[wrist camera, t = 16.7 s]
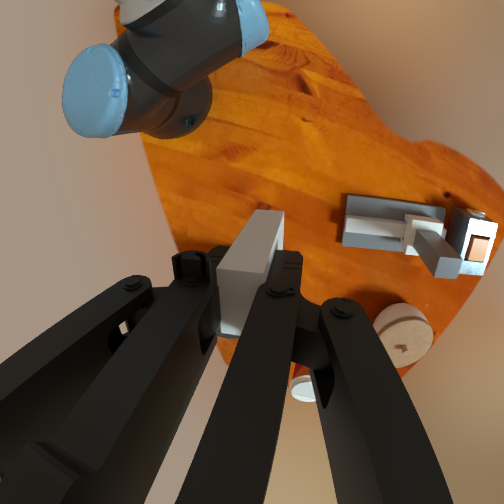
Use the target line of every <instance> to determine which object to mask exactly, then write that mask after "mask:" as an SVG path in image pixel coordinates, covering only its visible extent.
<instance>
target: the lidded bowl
mask: <svg viewBox="0 0 504 504" xmlns="http://www.w3.org/2000/svg"><path fill="white" fill-rule="evenodd" d="M373 327H374V329H375V331H376V332H377V334H378V336H379V338H380V340H381V342H382V343H383V345H384V347H385V349H386V351H387V353H388V355H389V357H390V358H391V360H392V362H393V364H394V366H395V368H398V367H404V366H407V365H409V364H412V363H414V362H415V361H417V360H418V359H420V358H421V357H422V356H423V355H424V354H425V353H426V352H427V351H428V349H429V348H430V346H431V344H432V341H433V331H432V328H431V326H430V324H429V323H428V321H427V319H426V318H425V316H424V315H423V313H422V312H421V311H420V310H419V309H418V308H416V307H415V306H413V305H411V304H407V303H396V304H392V305H390V306H388V307H386V308H385V309H384V310H383V311H381V312H380V313H379V315H378V316H377V317H376V319H375V321H374V323H373Z"/></svg>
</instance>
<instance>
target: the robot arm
mask: <svg viewBox="0 0 504 504" xmlns="http://www.w3.org/2000/svg"><path fill="white" fill-rule="evenodd" d="M115 1H116V2H117V3H118V4H119V5H120V20H119V22H120V23H121V24H122V25H123V26H124V27H126V28H127V30H126V31H125V32H124V33H123V34H121V35H120V36H119V37H118V38H117V39H116V40H115V41H114V42H113V43H112V44H110V45H107V44H99V45H96V46H90V47H88V48H86V49H85V50H83V51H82V52H81V53H80V54H79V55H78V56H77V57H76V58H75V59H74V61H73V62H72V64H71V65H70V67H69V69H68V71H67V74H66V76H65V80H64V84H63V93H62V107H63V112H64V115H65V118H66V120H67V122H68V124H69V126H70V127H71V129H72V130H73V131H74V132H76V133H77V134H78V135H80V136H83V137H87V138H108V137H111V136H114V135H121V134H128V133H137V132H145V133H146V134H148V135H150V136H152V137H155V138H159V139H174V138H180V137H183V136H185V135H188V134H189V133H191V132H193V131H194V130H195V129H197V128H198V127H199V126H200V125H201V123H202V122H203V121H204V120H205V118H206V116H207V114H208V112H209V110H210V107H211V103H212V86H211V82H210V80H209V78H208V75H210V74H211V73H213V72H214V71H216V70H217V69H219V68H221V67H222V66H224V65H226V64H227V63H229V62H231V61H233V60H234V59H236V58H238V57H239V58H241V57H243V56H244V55H245V54H246V53H247V52H248V51H250V50H252V49H254V48H255V47H257V46H259V45H261V44H262V43H264V42H265V41H266V40H267V38H268V36H269V31H270V30H269V23H268V20H267V17H266V14H265V11H264V9H263V7H262V5H261V3H260V1H259V0H115ZM283 231H284V211H272V210H257V209H256V210H255V212H254V213H253V215H252V216H251V217H250V219H249V220H248V222H247V223H246V225H245V226H244V228H243V229H242V231H241V232H240V234H239V235H238V237H237V238H236V240H235V241H234V243H233V244H232V245H231V247H230V246H217V247H215V248H213V249H211V250H210V251H209V253H208V254H207V253H205V252H202V251H184V252H181V253H178V254H176V255H174V256H173V257H172V264H173V271H174V278H175V279H174V280H173V282H172V283H171V284H170V285H169V286H168V287H153V288H152V284H151V281H150V279H149V278H147V277H146V276H141V275H133V276H130V277H127V278H124V279H122V280H120V281H119V282H117V283H116V284H114V285H113V286H111V287H110V288H108V289H106V290H105V291H103V292H102V293H100V294H99V295H97V296H96V297H94V298H93V299H91V300H90V301H88V302H87V303H85V304H84V305H82V306H81V307H79V308H78V309H76V310H75V311H74V312H72V313H71V314H69V315H67V316H66V317H65V318H63V319H62V320H60V321H59V322H57V323H56V324H54V325H53V326H52V327H50V328H49V329H47V330H46V331H45V332H43V333H42V334H40V335H39V336H38V337H36V338H35V339H34V340H32V341H31V342H29V343H28V344H26V345H25V346H24V347H22V348H21V349H20V350H18V351H17V352H16V353H14V354H13V355H12V356H10V357H9V358H8V359H6V360H5V361H4V362H3V363H1V364H0V504H144V502H145V499H146V497H147V495H148V493H149V490H150V488H151V486H152V484H153V482H154V480H155V478H156V475H157V473H158V471H159V469H160V466H161V464H162V462H163V460H164V458H165V456H166V453H167V451H168V449H169V447H170V445H171V443H172V440H173V438H174V436H175V434H176V432H177V429H178V427H179V424H180V423H181V421H182V418H183V416H184V414H185V412H186V409H187V407H188V405H189V403H190V401H191V398H192V396H193V394H194V391H195V389H196V387H197V385H198V383H199V380H200V378H201V376H202V374H203V372H204V369H205V367H206V365H207V363H208V361H209V358H210V356H211V354H212V352H213V349H214V347H215V345H216V343H217V328H218V326H219V324H220V323H221V333H225V334H232V335H238V336H240V338H239V341H238V343H237V346H236V349H235V352H234V354H233V357H232V360H231V362H230V365H229V368H228V370H227V373H226V376H225V378H224V381H223V383H222V386H221V389H220V391H219V394H218V397H217V399H216V402H215V404H214V407H213V410H212V412H211V415H210V417H209V420H208V423H207V425H206V428H205V430H204V433H203V435H202V438H201V440H200V443H199V446H198V448H197V451H196V453H195V455H194V458H193V461H192V463H191V465H190V468H189V470H188V473H187V476H186V478H185V481H184V483H183V485H182V488H181V490H180V493H179V496H178V497H177V500H176V502H175V504H263V503H264V499H265V495H266V491H267V487H268V482H269V477H270V473H271V469H272V464H273V460H274V455H275V450H276V445H277V440H278V435H279V430H280V424H281V419H282V413H283V408H284V402H285V396H286V390H287V384H288V378H289V372H290V366H291V361H292V362H295V363H297V364H300V365H303V366H306V367H308V368H309V373H310V378H311V382H312V386H313V390H314V395H315V399H316V403H317V407H318V412H319V417H320V421H321V425H322V430H323V435H324V439H325V444H326V448H327V453H328V458H329V463H330V468H331V473H332V477H333V483H334V488H335V493H336V498H337V503H338V504H453V501H452V498H451V495H450V492H449V489H448V486H447V484H446V481H445V478H444V476H443V473H442V470H441V467H440V465H439V463H438V460H437V457H436V455H435V452H434V450H433V448H432V445H431V443H430V440H429V438H428V436H427V434H426V431H425V429H424V427H423V424H422V422H421V420H420V418H419V416H418V413H417V411H416V409H415V407H414V405H413V403H412V400H411V399H410V396H409V394H408V392H407V390H406V388H405V386H404V384H403V382H402V380H401V378H400V376H399V374H398V372H397V370H396V368H395V366H394V364H393V362H392V360H391V358H390V357H389V355H388V353H387V351H386V349H385V347H384V345H383V343H382V342H381V340H380V338H379V336H378V334H377V332H376V331H375V329H374V327H373V325H372V323H371V322H370V320H369V318H368V316H367V315H366V313H365V311H364V309H363V308H362V307H361V306H360V305H359V304H358V303H356V302H355V301H353V300H350V299H347V298H332V299H328V300H326V301H325V302H323V304H322V305H321V306H320V305H317V304H314V303H311V302H309V301H308V300H306V299H305V298H304V297H303V296H302V294H301V293H300V286H301V276H302V265H303V256H302V255H301V254H300V252H298V251H287V250H283ZM124 321H125V324H126V327H127V330H128V332H127V333H125V334H122V333H121V331H120V328H119V325H120V324H121V323H122V322H124Z"/></svg>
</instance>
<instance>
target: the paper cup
mask: <svg viewBox="0 0 504 504" xmlns="http://www.w3.org/2000/svg"><path fill="white" fill-rule="evenodd" d="M289 388H290V391H291V393H292V395H293V397H294V398H296V399H298V400H300V401H305V402H313V401H316V399H315V395H314V390H313V386H312V382H311V378H310V373H309V368H308V367H306V366H303V365H300V364H297V363H296V364H295V369H294V374H293V378H292V380H291V381H290V385H289Z"/></svg>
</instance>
